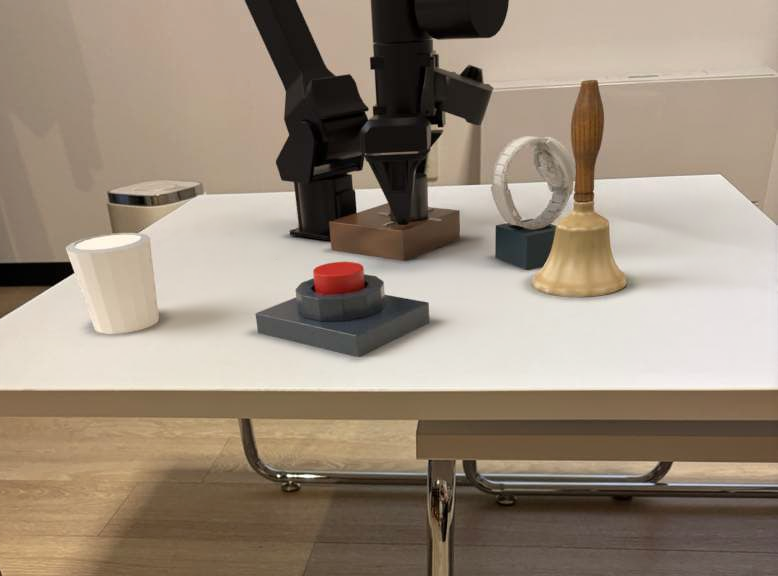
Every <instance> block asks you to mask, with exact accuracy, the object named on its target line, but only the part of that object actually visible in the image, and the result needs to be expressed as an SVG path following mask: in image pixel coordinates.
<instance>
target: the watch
mask: <svg viewBox="0 0 778 576" xmlns="http://www.w3.org/2000/svg"><path fill="white" fill-rule="evenodd" d="M529 146H530V147H531V149H532V153H531V155H532V164H533V165H534V167H535V168H536V170H537V172H538V174H539V175H540V177H541V178H542V179H543V180H544V181H545V182H546V184H547V187H548V190H549V192H550V193H552V195H551V198H550V199H549V202H548V203H547V205H546V207H545V208H544V209H543V210H542V212H541V213H540V214H539V215H536V216H535V218H530V219H528V218H527V219H523V220H522V216H521V215H520V213H519V211H518V209H517V207H516V206H515V202H514V199H513V197H512V193H511V190H510V189H509V185H508V178H507V177H508V173H509V170H510V167H511V164H512V163H513V161H514V160H515V158H516V157H517V156H518V155H519V154H520V153H521V152H522V151H523V150H524V149H525V148H527V147H529ZM575 175H576V165H575V160H574V158H573V157H572V155H571V154H570V152H569V151H568V149H567V148H566V147H565V146H564V145H563V144H562V143H561V142H560V141H559V140H557V139H556V138H554V137H552V136H544V137H538V136H534V135H523V136H519V137H518V138H514V139H513V140H511V141H510V142H509V143H507V144H506V145H505V147H504V148H503V149H502V151H500V153H499V154H498V156H497V158H496V160H495V163H494V165H493V169H492V173H491V179H492V180H491V186H490V191H491V194H492V195H491V196H492V199H493V201H494V204H495V206H496V209H497V211H498V212H499V214H500V216H501V217H502V219H503V221H504V222H505V223H501V224H495V234H494V235H495V237H494V238H495V240H494V243H495V244H494V246H495V247H494V258H495V259H497V260H500V261H502V262H505V263H508V264H510V265H512V266H515V267H517V268H520V269H522V270H531V269H536V268H543V266H544V264H545V263H546V261H547V259H548V257H549V255H550V252H551V249H552V245H553V241H554V236H555V230H556V225H555V224H552V223H554V222H555V221H556V220H557V219H558V218H559V217H560V216H561V214H562V212H564V210H565V209H566V207H567V205H568V202H569V200H570V198H571V196H572V195H573V193H574V183H575Z"/></svg>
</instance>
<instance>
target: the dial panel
mask: <svg viewBox="0 0 778 576" xmlns="http://www.w3.org/2000/svg"><path fill="white" fill-rule="evenodd" d="M329 227H330V239H331V240H330V249H331V251H332V252H340V253H347V254H354V255H360V256H367V257H374V258H381V259H387V260H394V261H401V262H406V261H408V260H411V259H413V258H416V257H418V256H421V255H424V254H426V253H428V252H431V251H433V250H436V249H438V248H441V247H443V246H446V245H448V244H451V243H453V242H456V241H458V240H460V239H461V212H460V209H452V208H451V209H450V208H441V207H432V206H428V217H427V218H424V219H421V220H416V221H409V224H408V225H399V224H398V223H397V221H396V220H392V219H391V218H390V206H389V204H388V202H386V203H383V204H380V205H377V206H374V207H370V208H367V209H364V210H361V211H359V212H358V211H357V213H355V214H352V215H349V216H346V217H343V218H339V219H336V220H333V221H330V222H329Z"/></svg>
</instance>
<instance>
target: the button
mask: <svg viewBox="0 0 778 576" xmlns="http://www.w3.org/2000/svg"><path fill="white" fill-rule="evenodd" d="M312 274H313V278H314V285H315V292H316V293H322V294H345V293H351V292H357V291H359V290H362V289H364V288H365V282H364V274H365V270H364V266H363V264H362V263H358V262H353V261H335V262H328V263H324V264H321V265H318V266H316V267H315V268H314V269H313V270H312Z"/></svg>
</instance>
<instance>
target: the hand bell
mask: <svg viewBox="0 0 778 576" xmlns="http://www.w3.org/2000/svg"><path fill="white" fill-rule="evenodd" d="M604 128H605V112H604V105H603V100H602V98H601V92H600V87H599V82H598V80H597V79H589V80H587V79H586V80H582V81H581V83H580V87H579V92H578V95H577V98H576V101H575V104H574V107H573V109H572V115H571V124H570V142H571V149H572V154H573V159H574V163H575V166H576V175H575V181H574V186H573V200H574V201H573V207H572V211H571V212H570V213H569V214H566V216H564V217H561V218H560V219H559V220H557V222H556V225H555V226H556V230H555V236H554V241H553V245H552V249H551V252H550V255H549V257H548V259H547V261H546V263H545V264H544V266H542V267H541V269H539V271H537V272H536V273H535V274H534V275H533V278H532V280H531V286H532V287H533V288H534V289H535V290H536V291H538V292H540V293H543V294H546V295H551V296H555V297H556V296H557V297H563V298H590V297H591V298H592V297H599V296H606V295H610V294H613V293H616V292H619V291H620V290H622V289H624V288H625V287H626V286H627V284H628V279H627V277H626V274H625V273H624V271H623V270H622V269H620V268H619V266H618V264H617V263H616V261H615V258H614V255H613V250H612V246H611V235H610V222H609V219H608V218H607V217H605V216H603V215H601V214H599V213H598V212H596V210H595V192H594V191H595V169H596V162H597V159H598V156H599V153H600V150H601V147H602V142H603V138H604V137H603V136H604V130H605V129H604Z"/></svg>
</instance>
